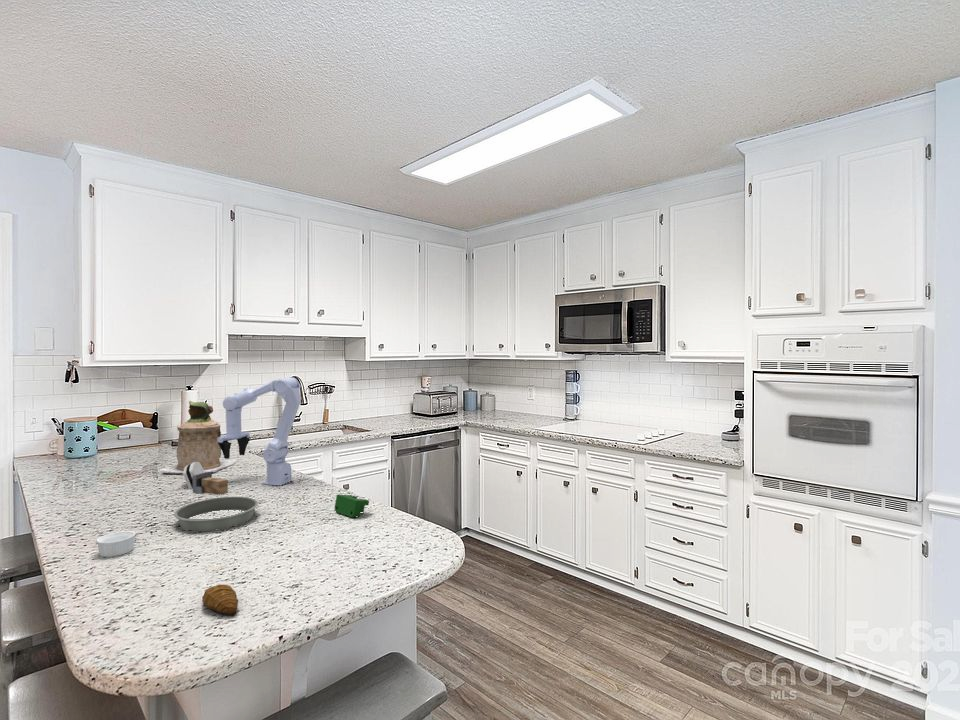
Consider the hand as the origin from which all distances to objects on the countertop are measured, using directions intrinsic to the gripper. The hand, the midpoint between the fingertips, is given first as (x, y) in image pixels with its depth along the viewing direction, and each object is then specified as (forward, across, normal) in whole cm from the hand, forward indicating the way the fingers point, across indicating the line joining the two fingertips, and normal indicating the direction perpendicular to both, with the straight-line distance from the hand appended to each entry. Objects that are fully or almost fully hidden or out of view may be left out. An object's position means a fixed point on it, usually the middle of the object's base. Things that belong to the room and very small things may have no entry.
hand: (234, 456), depth 221 cm
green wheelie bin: (+11, +15, +73) cm, 75 cm away
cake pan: (+11, +38, +36) cm, 53 cm away
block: (+10, +15, +6) cm, 19 cm away
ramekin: (+11, +68, +33) cm, 76 cm away
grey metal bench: (+10, +15, +1) cm, 18 cm away
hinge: (+11, +9, -12) cm, 18 cm away
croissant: (+11, +79, +86) cm, 117 cm away
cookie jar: (+11, -11, -36) cm, 39 cm away
